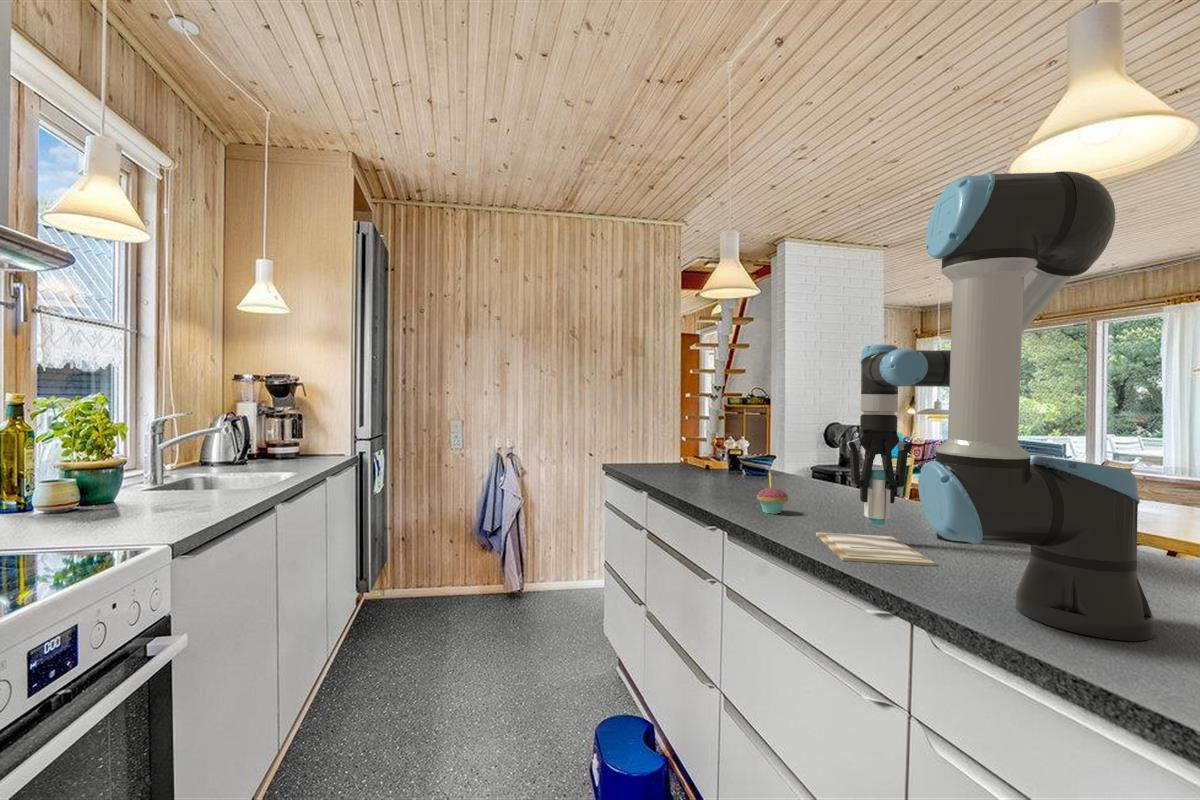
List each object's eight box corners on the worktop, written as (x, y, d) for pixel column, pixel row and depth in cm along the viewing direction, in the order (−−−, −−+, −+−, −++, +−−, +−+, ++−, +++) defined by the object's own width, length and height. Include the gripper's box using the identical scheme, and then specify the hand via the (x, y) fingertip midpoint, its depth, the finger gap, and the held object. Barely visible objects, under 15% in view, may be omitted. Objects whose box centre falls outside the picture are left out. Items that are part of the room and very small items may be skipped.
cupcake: (752, 509, 160) (752, 469, 160) (779, 509, 161) (780, 469, 161) (764, 515, 152) (764, 472, 152) (793, 515, 152) (793, 472, 153)
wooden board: (935, 566, 105) (935, 561, 105) (842, 560, 108) (842, 556, 108) (891, 538, 127) (892, 535, 127) (815, 534, 130) (815, 531, 130)
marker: (887, 525, 121) (888, 471, 121) (871, 524, 122) (871, 470, 122) (882, 522, 125) (882, 469, 125) (866, 521, 125) (867, 468, 125)
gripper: (910, 414, 126) (908, 515, 126) (836, 412, 128) (834, 512, 128) (924, 414, 118) (922, 522, 118) (846, 413, 121) (843, 518, 121)
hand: (876, 516), depth 123 cm, fingers closed on marker, 3 cm apart
